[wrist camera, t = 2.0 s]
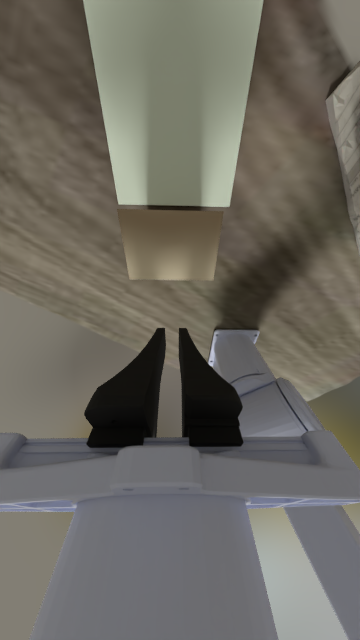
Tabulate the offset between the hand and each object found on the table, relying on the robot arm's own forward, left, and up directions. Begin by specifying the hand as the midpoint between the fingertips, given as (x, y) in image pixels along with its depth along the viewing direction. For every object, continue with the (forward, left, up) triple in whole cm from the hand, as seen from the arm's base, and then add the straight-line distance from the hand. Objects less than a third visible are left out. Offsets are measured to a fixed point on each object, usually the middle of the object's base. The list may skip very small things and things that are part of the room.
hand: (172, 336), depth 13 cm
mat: (+16, 0, -10) cm, 19 cm away
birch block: (+7, 0, -10) cm, 13 cm away
